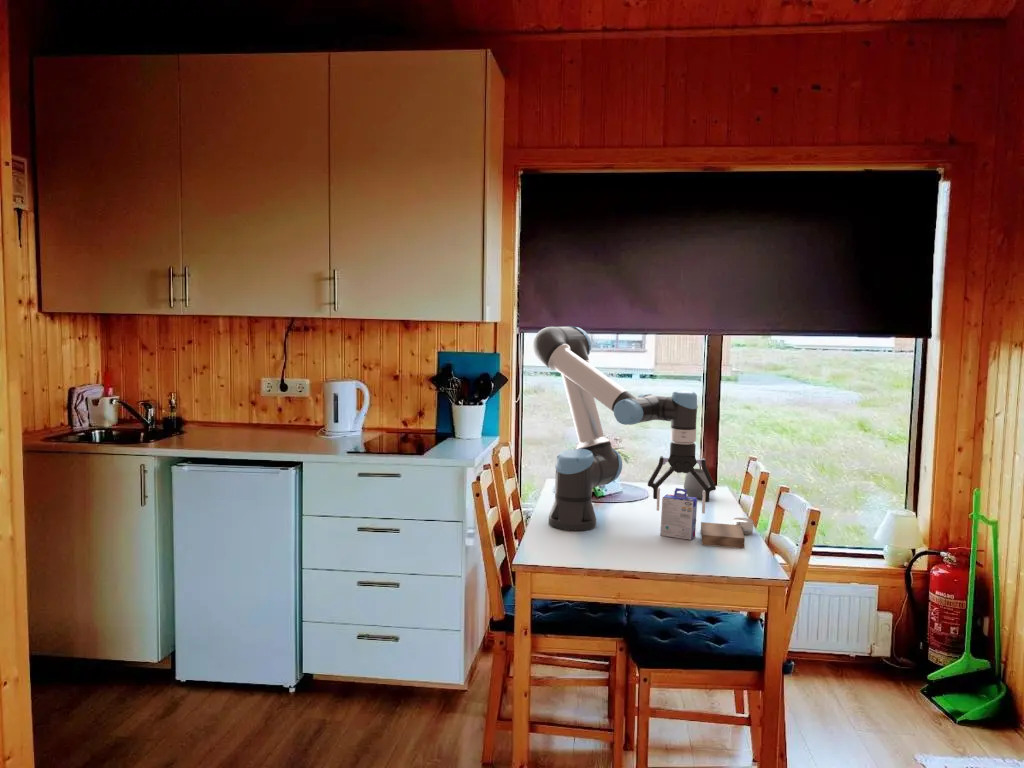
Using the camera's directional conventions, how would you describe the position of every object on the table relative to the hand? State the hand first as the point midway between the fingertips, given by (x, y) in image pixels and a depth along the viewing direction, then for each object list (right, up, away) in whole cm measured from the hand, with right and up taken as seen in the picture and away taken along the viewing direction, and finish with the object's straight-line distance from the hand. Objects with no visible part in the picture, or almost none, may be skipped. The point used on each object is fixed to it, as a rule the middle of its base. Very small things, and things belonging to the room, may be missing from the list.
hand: (680, 511), depth 245 cm
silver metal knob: (+21, -8, +7) cm, 24 cm away
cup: (+16, -3, +50) cm, 53 cm away
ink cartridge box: (-1, -8, +1) cm, 8 cm away
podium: (+12, -8, -1) cm, 15 cm away
